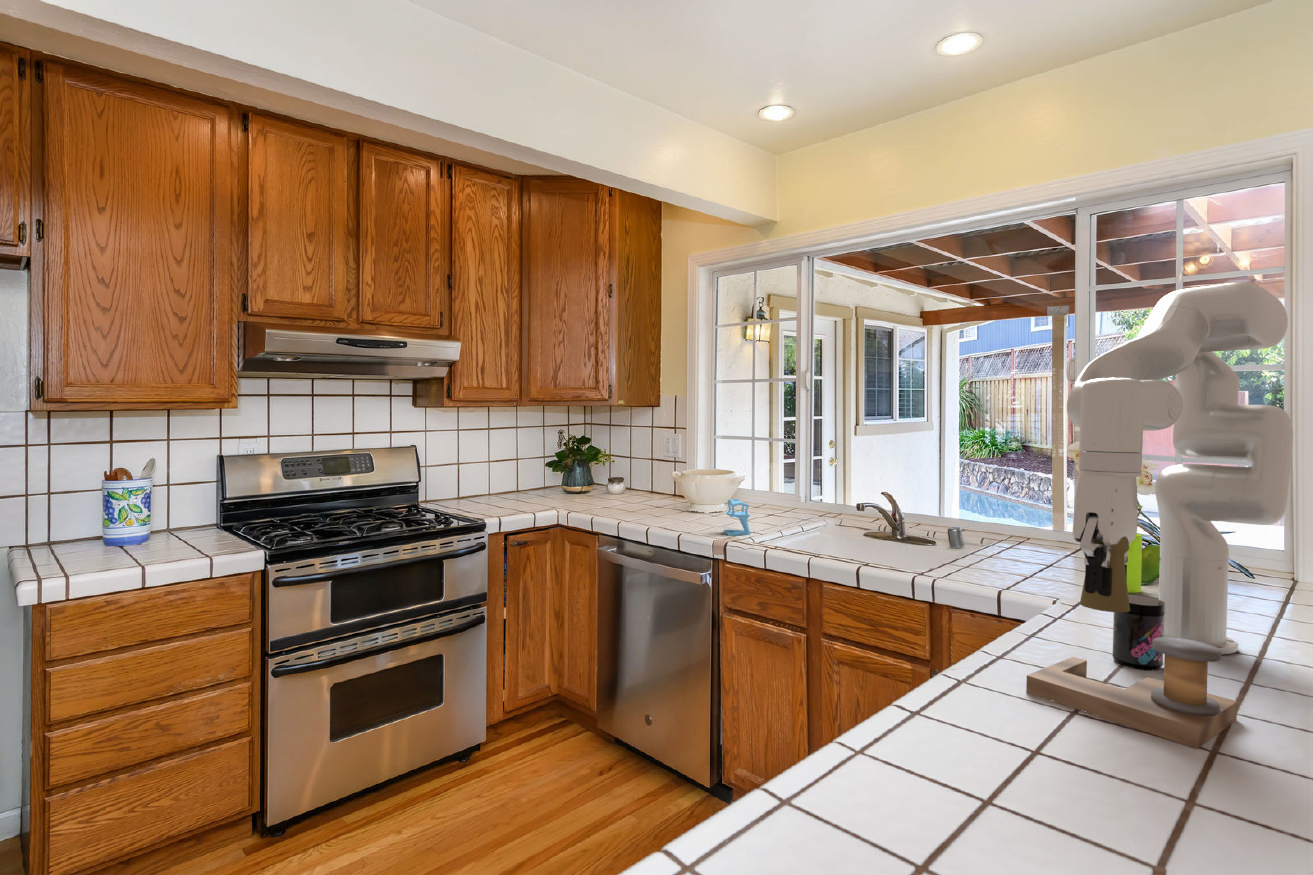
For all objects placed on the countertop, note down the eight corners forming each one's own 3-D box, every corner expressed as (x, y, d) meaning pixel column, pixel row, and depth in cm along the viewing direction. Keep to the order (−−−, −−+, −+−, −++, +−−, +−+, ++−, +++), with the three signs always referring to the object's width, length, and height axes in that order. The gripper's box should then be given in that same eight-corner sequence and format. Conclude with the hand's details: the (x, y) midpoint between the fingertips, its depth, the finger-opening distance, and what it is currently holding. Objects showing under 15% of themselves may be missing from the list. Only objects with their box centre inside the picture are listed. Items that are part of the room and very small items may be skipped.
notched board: (1072, 672, 105) (1074, 608, 105) (1236, 720, 89) (1238, 643, 88) (1026, 692, 97) (1027, 622, 97) (1197, 748, 81) (1199, 664, 81)
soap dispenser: (1149, 591, 157) (1152, 505, 157) (1129, 593, 155) (1132, 506, 154) (1124, 585, 163) (1126, 502, 162) (1104, 587, 160) (1106, 503, 160)
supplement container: (1120, 669, 107) (1122, 603, 107) (1105, 655, 113) (1107, 593, 113) (1170, 674, 105) (1173, 607, 105) (1152, 659, 112) (1154, 596, 111)
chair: (752, 535, 228) (753, 500, 228) (728, 536, 227) (729, 500, 227) (746, 532, 236) (747, 497, 236) (723, 532, 235) (723, 497, 235)
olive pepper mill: (1082, 599, 102) (1085, 525, 102) (1132, 606, 98) (1134, 530, 98) (1076, 606, 97) (1079, 530, 97) (1128, 615, 93) (1130, 535, 93)
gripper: (1106, 462, 105) (1102, 580, 105) (1053, 464, 95) (1049, 593, 96) (1163, 465, 99) (1159, 590, 99) (1113, 467, 89) (1108, 605, 90)
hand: (1105, 590), depth 97 cm, fingers closed on olive pepper mill, 4 cm apart
